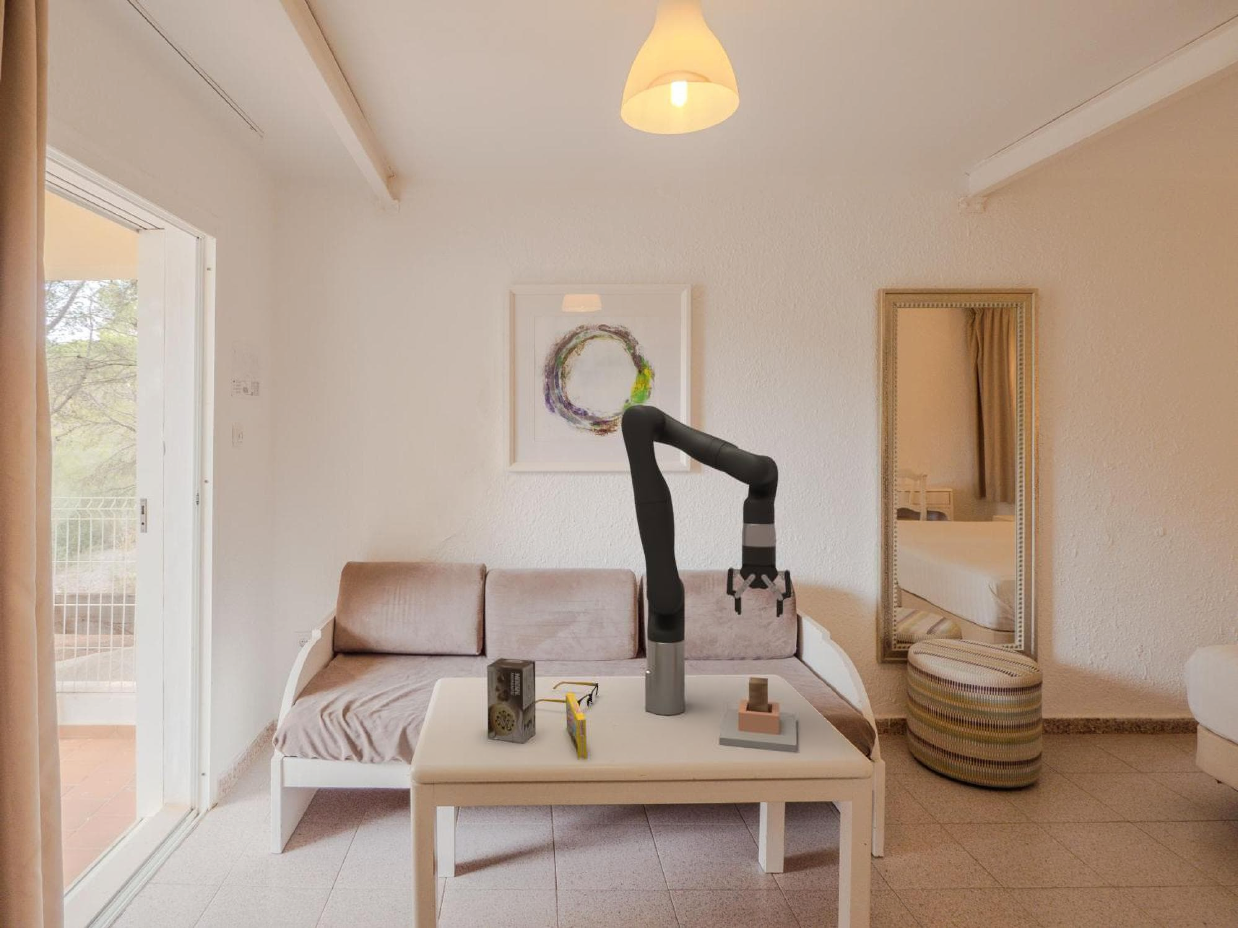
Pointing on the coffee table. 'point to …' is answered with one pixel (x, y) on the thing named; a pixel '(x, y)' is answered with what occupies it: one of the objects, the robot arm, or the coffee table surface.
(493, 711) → the coffee box
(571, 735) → the candy box
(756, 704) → the walnut peg
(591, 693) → the eyeglasses
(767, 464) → the robot arm
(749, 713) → the socket block
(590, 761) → the coffee table surface
